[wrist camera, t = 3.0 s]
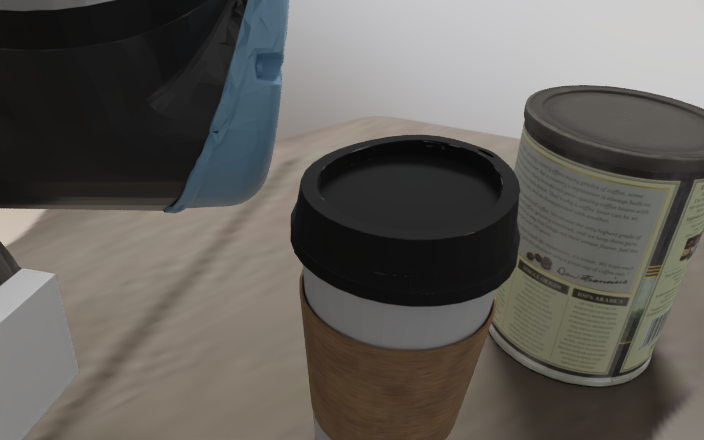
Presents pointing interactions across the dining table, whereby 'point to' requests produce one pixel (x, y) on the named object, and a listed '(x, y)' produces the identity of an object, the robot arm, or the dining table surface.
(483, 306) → the coffee cup
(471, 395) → the dining table surface
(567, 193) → the coffee can
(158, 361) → the dining table surface
